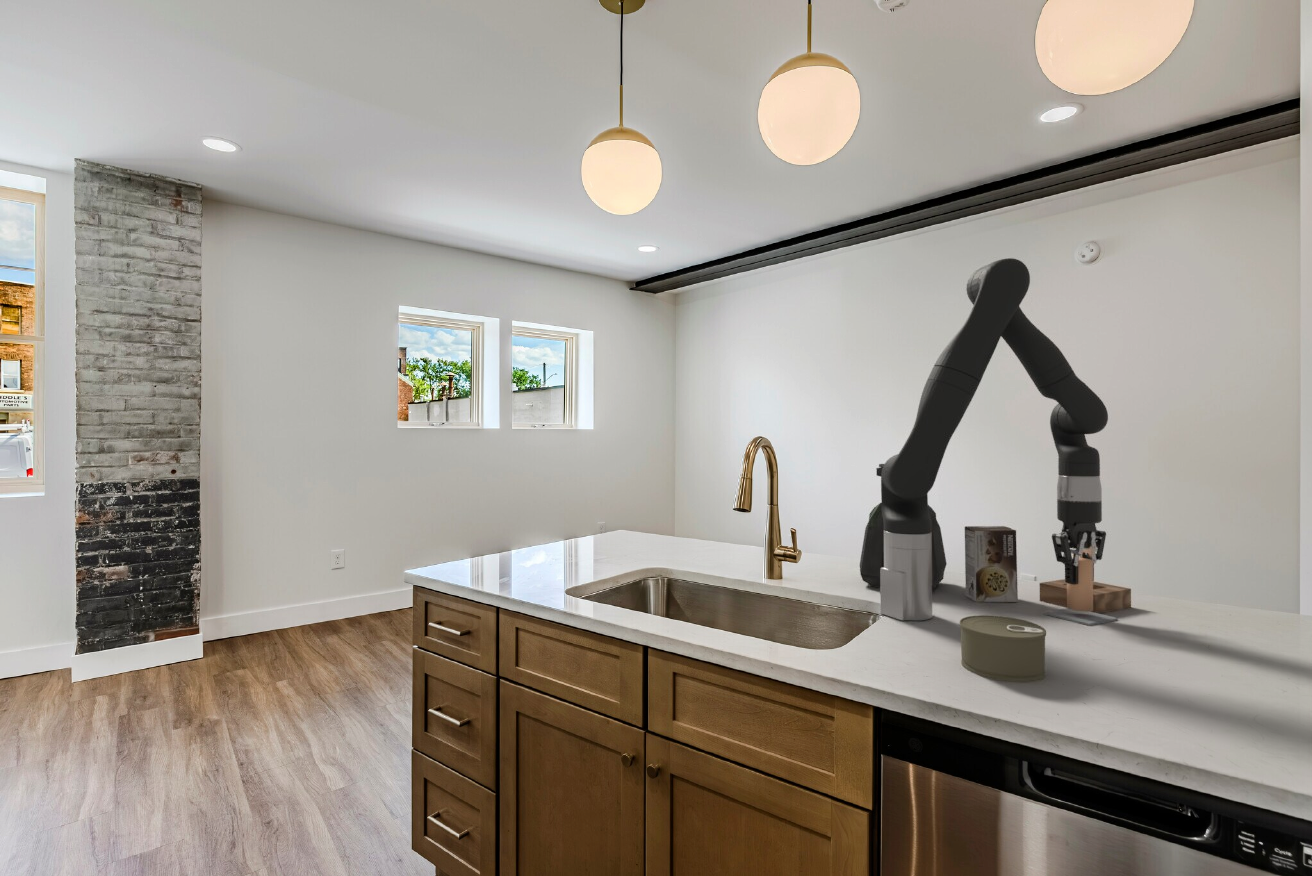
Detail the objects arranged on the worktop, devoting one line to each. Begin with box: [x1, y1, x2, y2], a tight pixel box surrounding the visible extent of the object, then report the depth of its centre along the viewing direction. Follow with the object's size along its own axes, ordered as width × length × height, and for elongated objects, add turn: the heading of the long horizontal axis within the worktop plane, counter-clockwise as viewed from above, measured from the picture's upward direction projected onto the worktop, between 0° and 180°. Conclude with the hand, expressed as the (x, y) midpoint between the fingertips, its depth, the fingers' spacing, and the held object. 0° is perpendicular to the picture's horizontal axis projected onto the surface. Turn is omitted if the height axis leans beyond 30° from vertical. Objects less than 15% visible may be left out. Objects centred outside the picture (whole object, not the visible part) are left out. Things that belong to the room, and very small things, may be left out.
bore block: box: [1039, 578, 1132, 614], centre depth 139 cm, size 12×12×4 cm
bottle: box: [859, 463, 948, 590], centre depth 158 cm, size 18×16×30 cm
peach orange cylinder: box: [1066, 556, 1094, 612], centre depth 129 cm, size 4×4×10 cm
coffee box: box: [964, 525, 1019, 603], centre depth 144 cm, size 9×6×16 cm
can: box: [959, 614, 1047, 683], centre depth 100 cm, size 12×12×7 cm
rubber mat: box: [1043, 607, 1118, 627], centre depth 129 cm, size 9×9×1 cm
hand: (1079, 582), depth 129 cm, fingers closed on peach orange cylinder, 4 cm apart
